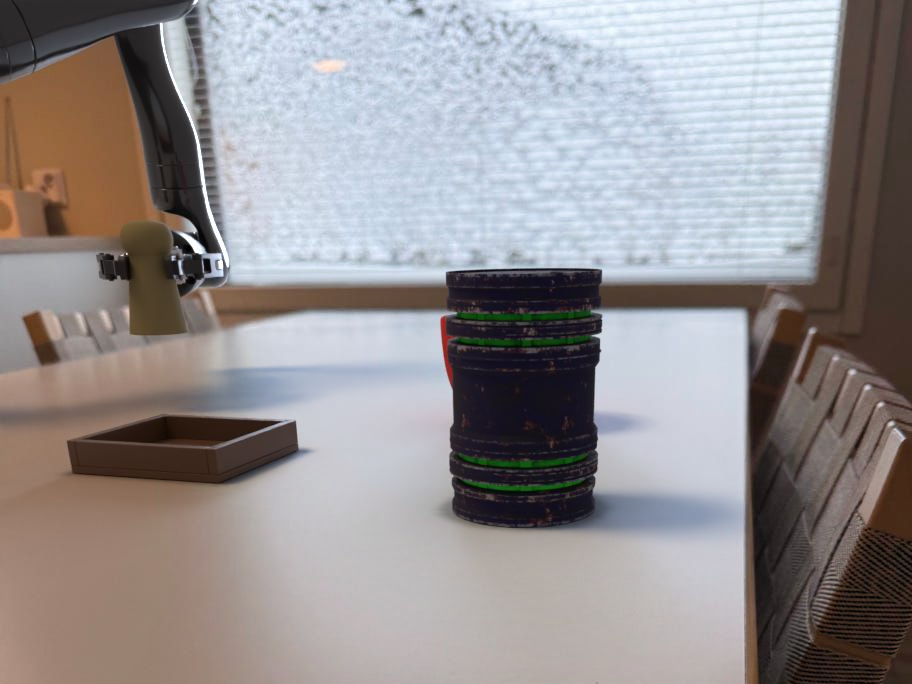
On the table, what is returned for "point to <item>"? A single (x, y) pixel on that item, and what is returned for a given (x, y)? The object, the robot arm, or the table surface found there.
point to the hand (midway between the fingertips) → (146, 268)
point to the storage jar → (523, 394)
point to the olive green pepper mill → (151, 280)
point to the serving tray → (184, 447)
